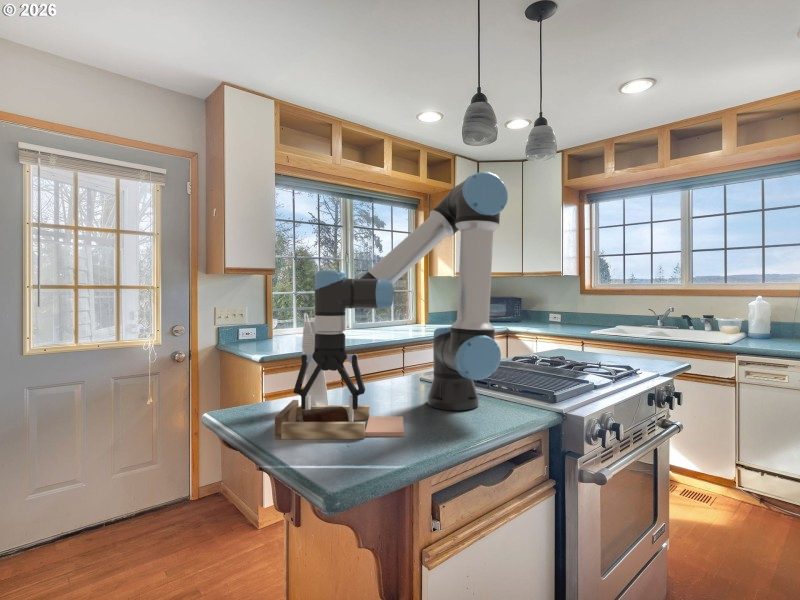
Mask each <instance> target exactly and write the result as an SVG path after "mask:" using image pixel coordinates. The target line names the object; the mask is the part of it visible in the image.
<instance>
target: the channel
mask: <svg viewBox="0 0 800 600" xmlns="http://www.w3.org/2000/svg"><path fill="white" fill-rule="evenodd" d="M299 403H300V402H299V399H292V401H290V402H289V403H288V404H287V405H285V407H284V408H283V409H281V410H280V412H279V413H277V415H275V416H274V440H365V437H366V436H365V430H366V422H365V421H368V419H369V417H371V416H370V413H371V412H370V411H371V410H370V404H369V405H366V404H365V405H363V404H361V405H359V404H358V407H357V409H354V412H353V422H349V404H347V405H343V404H342V405H340V404H339V405H337V404H336V405H333V404H332V405H329V404H328V405H311V409H322V408H330V407H338V406H342V407H343V408H345V409H346V410H347V414H348V422H303V416H302V411H305V409H302V408H301V404H300V405H299Z"/></svg>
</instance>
